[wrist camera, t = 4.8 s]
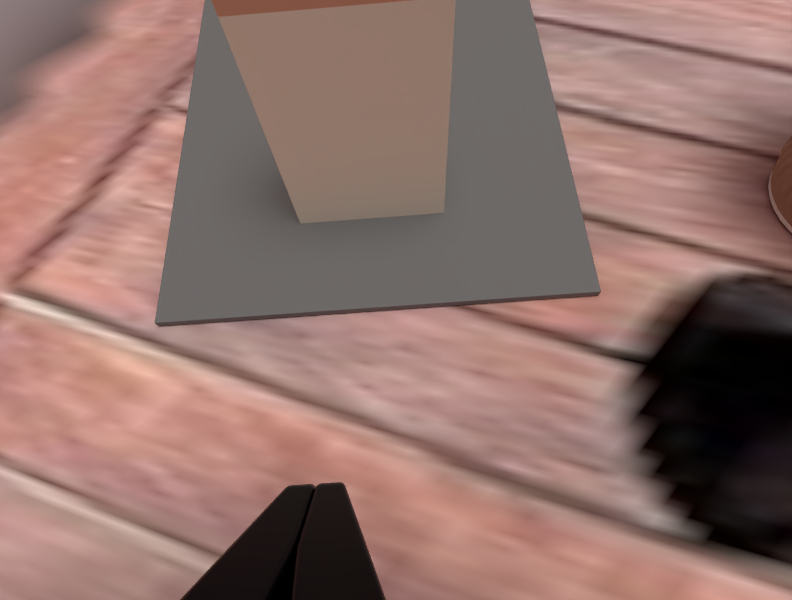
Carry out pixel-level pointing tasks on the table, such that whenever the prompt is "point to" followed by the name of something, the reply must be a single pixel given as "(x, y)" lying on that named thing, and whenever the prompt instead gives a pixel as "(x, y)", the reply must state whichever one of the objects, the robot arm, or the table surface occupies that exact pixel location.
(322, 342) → the table surface
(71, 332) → the table surface
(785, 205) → the coffee cup
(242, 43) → the tan bar
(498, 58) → the mat
